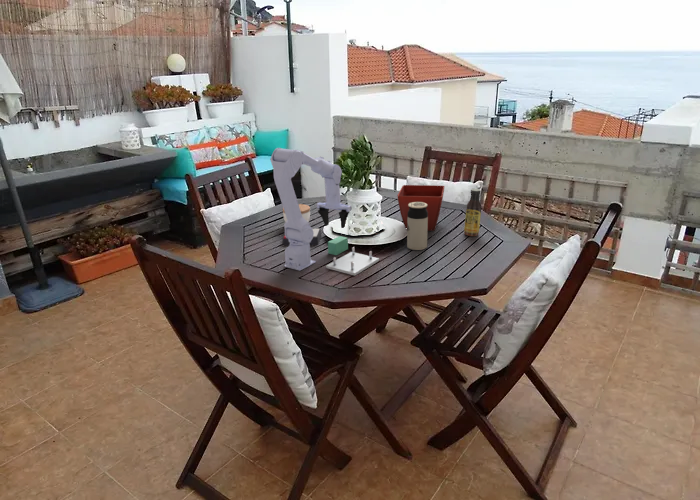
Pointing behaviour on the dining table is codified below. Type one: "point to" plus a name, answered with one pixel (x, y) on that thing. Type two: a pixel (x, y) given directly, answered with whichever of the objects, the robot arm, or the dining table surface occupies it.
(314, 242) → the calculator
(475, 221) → the sauce bottle
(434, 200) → the plant pot
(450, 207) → the dining table surface
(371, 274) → the dining table surface
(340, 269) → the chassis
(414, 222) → the travel mug
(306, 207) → the lidded bowl
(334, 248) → the green block
